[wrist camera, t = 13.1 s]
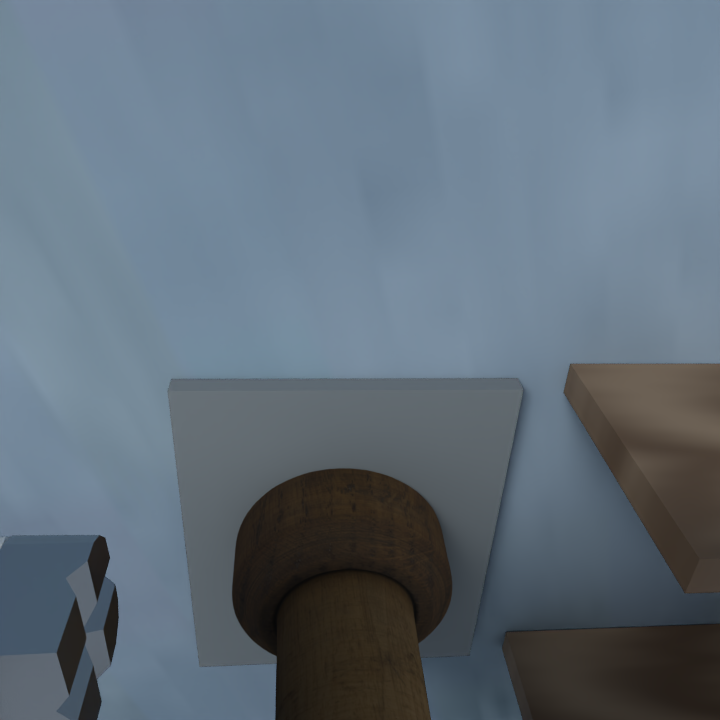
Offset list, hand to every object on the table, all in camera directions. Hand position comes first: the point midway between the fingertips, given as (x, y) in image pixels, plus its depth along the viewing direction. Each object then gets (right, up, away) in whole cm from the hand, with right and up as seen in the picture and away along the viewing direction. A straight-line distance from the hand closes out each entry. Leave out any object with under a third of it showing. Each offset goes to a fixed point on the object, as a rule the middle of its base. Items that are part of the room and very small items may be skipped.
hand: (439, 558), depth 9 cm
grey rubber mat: (-2, -3, +14) cm, 15 cm away
